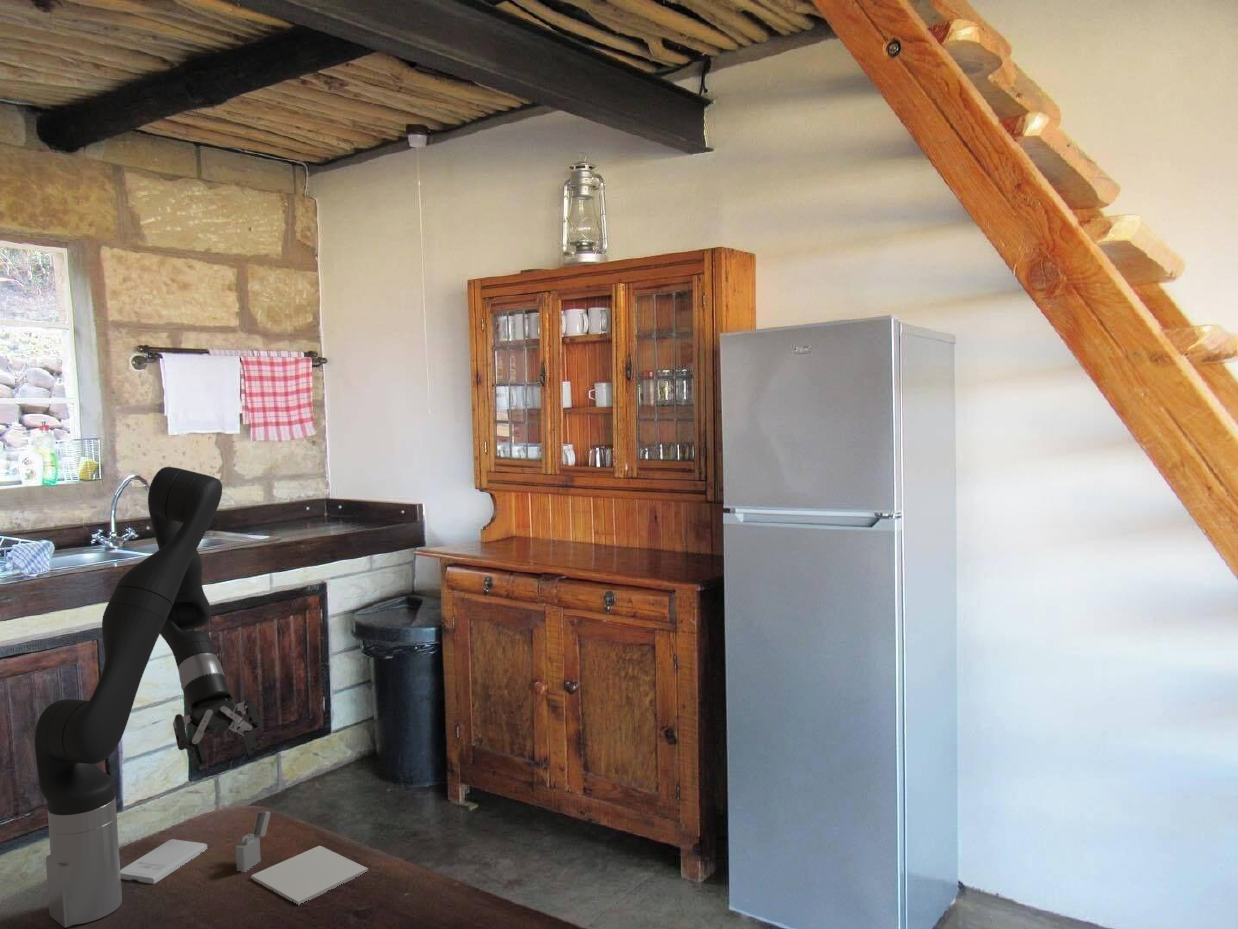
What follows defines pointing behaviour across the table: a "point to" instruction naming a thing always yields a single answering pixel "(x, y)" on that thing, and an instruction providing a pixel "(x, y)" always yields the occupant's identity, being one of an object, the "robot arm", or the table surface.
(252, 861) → the lighter
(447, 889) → the table surface
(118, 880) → the robot arm
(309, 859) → the mat
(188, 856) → the external hard drive
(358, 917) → the table surface
